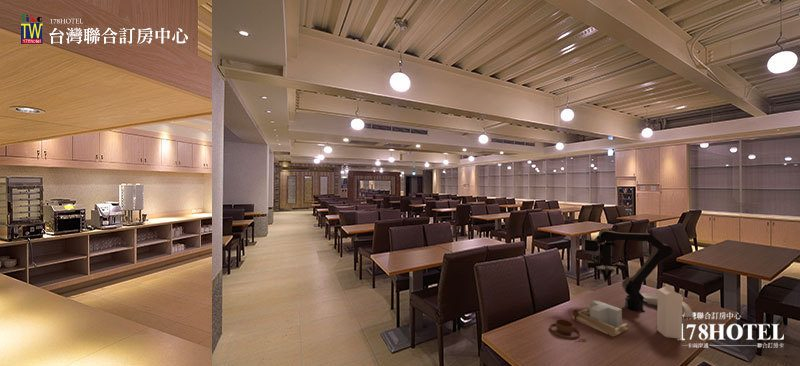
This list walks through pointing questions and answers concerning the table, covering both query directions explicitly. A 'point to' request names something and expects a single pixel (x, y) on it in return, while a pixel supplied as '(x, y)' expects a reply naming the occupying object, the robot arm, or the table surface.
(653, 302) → the spoon rest
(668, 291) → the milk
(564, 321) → the brown cup and saucer
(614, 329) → the birch bay
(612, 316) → the t block
